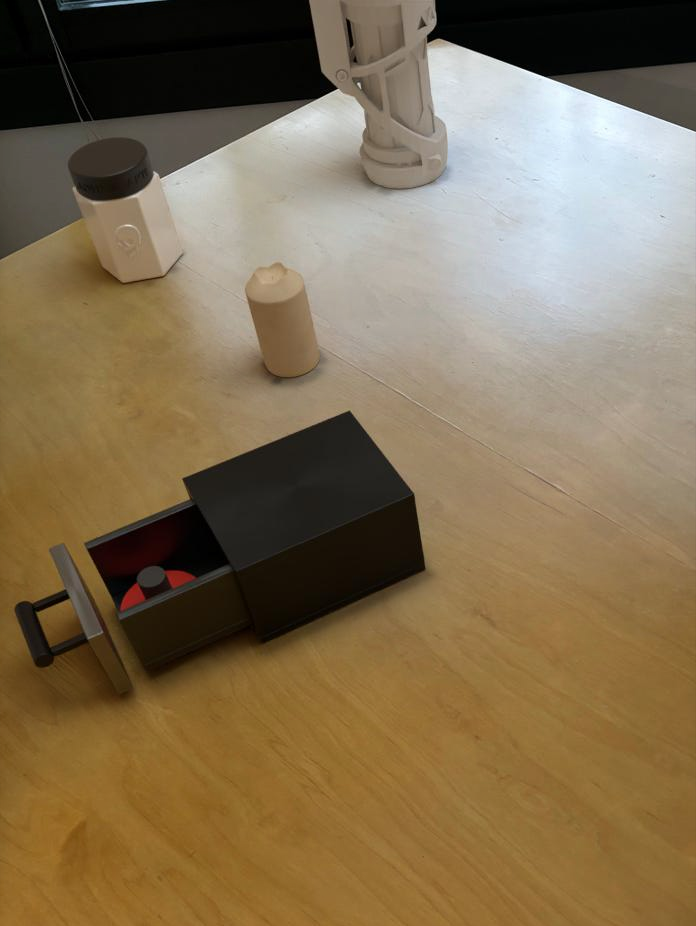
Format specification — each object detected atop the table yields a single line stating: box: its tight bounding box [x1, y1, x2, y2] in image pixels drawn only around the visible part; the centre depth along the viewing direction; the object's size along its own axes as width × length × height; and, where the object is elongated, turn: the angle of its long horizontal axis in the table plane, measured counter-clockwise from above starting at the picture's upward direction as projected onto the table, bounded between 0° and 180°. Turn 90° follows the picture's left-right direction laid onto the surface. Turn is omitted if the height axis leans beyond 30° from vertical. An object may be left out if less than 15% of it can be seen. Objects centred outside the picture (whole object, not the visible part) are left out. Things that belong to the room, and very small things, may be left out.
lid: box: [121, 566, 196, 611], centre depth 83 cm, size 7×7×4 cm
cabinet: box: [181, 410, 426, 644], centre depth 86 cm, size 15×12×9 cm
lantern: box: [308, 0, 449, 190], centre depth 118 cm, size 13×10×25 cm
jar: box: [67, 136, 184, 284], centre depth 114 cm, size 9×8×12 cm
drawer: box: [13, 498, 253, 695], centre depth 82 cm, size 18×10×7 cm, turn 119°
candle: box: [244, 261, 321, 378], centre depth 102 cm, size 6×6×10 cm
